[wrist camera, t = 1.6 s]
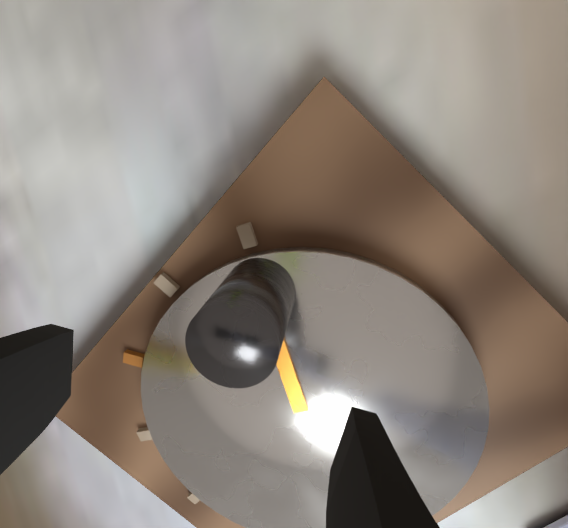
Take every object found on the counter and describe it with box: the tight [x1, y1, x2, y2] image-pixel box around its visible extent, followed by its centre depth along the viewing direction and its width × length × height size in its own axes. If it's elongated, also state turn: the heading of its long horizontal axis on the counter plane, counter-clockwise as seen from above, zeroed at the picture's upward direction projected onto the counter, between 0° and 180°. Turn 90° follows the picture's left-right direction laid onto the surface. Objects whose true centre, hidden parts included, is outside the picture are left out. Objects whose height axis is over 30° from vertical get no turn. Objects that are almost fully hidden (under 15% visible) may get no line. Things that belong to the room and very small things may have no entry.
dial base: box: [56, 77, 568, 528], centre depth 20 cm, size 19×22×2 cm
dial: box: [141, 247, 489, 528], centre depth 17 cm, size 16×16×5 cm
